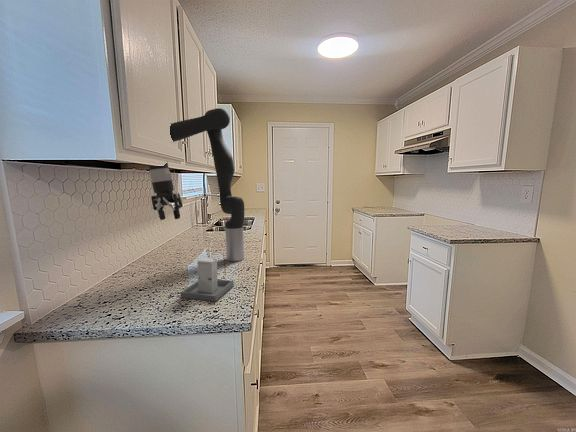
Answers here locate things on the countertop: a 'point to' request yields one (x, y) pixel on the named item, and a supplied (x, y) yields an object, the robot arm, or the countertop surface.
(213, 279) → the skincare box
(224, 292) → the tray
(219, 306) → the countertop surface
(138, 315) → the countertop surface
